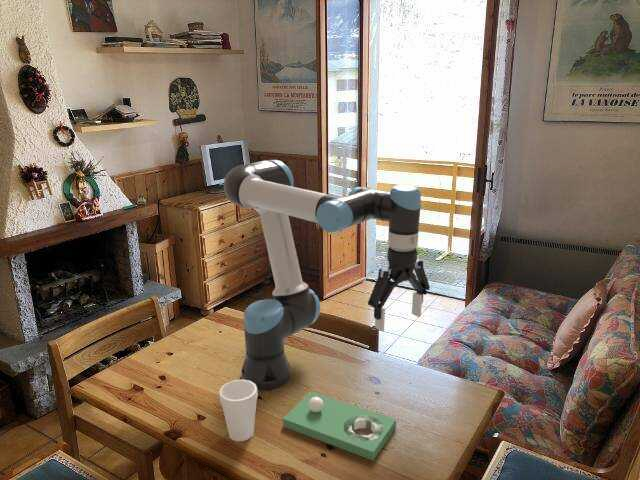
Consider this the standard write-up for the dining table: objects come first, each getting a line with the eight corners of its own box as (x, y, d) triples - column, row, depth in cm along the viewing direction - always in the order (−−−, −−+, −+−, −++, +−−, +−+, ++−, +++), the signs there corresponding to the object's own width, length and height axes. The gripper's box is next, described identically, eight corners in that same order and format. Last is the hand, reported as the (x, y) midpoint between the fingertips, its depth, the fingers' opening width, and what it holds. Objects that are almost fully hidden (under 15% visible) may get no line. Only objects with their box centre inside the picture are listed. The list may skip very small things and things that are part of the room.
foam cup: (243, 450, 129) (240, 405, 125) (215, 437, 134) (211, 393, 130) (266, 429, 136) (264, 386, 132) (239, 417, 141) (236, 375, 137)
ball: (305, 412, 139) (305, 399, 137) (313, 404, 142) (313, 392, 141) (318, 417, 137) (318, 404, 136) (326, 409, 140) (326, 396, 139)
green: (283, 426, 137) (282, 418, 137) (310, 398, 149) (310, 391, 148) (373, 460, 125) (373, 452, 124) (395, 427, 136) (396, 419, 135)
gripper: (376, 261, 122) (372, 341, 129) (447, 241, 136) (440, 314, 143) (355, 252, 128) (353, 329, 135) (425, 234, 142) (420, 305, 149)
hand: (398, 322), depth 139 cm, fingers open, 13 cm apart
